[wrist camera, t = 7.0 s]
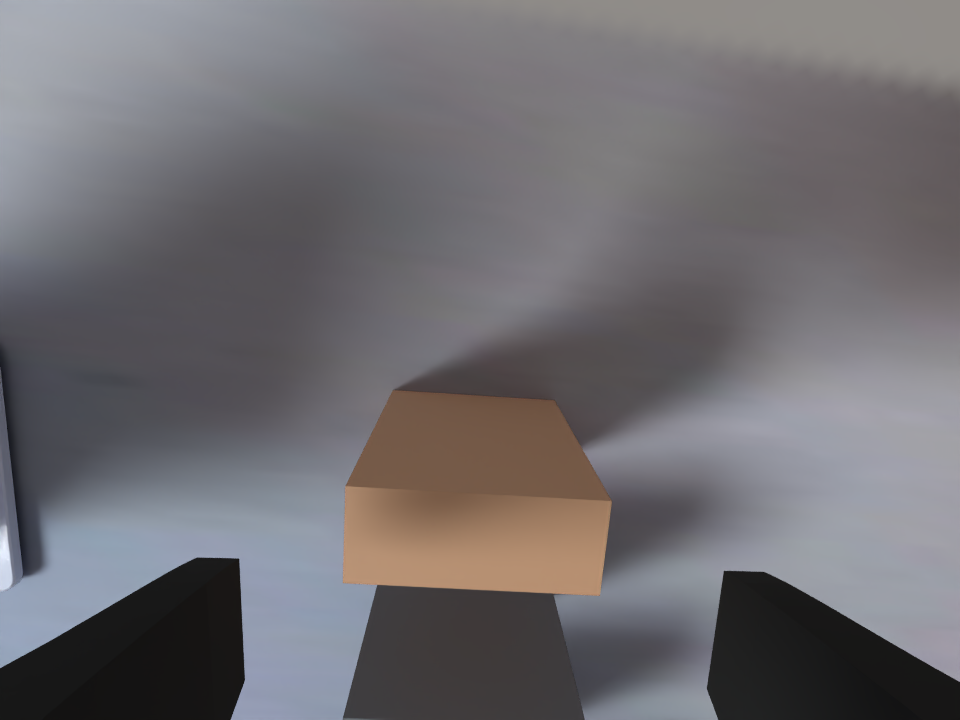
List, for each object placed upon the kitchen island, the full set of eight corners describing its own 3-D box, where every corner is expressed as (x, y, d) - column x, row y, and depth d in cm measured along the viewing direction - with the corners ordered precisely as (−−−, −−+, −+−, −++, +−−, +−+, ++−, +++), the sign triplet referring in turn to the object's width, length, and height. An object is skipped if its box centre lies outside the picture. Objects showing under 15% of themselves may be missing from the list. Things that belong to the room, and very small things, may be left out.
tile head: (390, 451, 18) (342, 582, 11) (393, 390, 17) (345, 486, 10) (548, 460, 18) (599, 595, 11) (554, 400, 17) (612, 501, 11)
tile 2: (387, 595, 19) (341, 798, 12) (389, 540, 18) (342, 718, 11) (536, 601, 19) (576, 805, 12) (541, 547, 18) (586, 726, 12)
